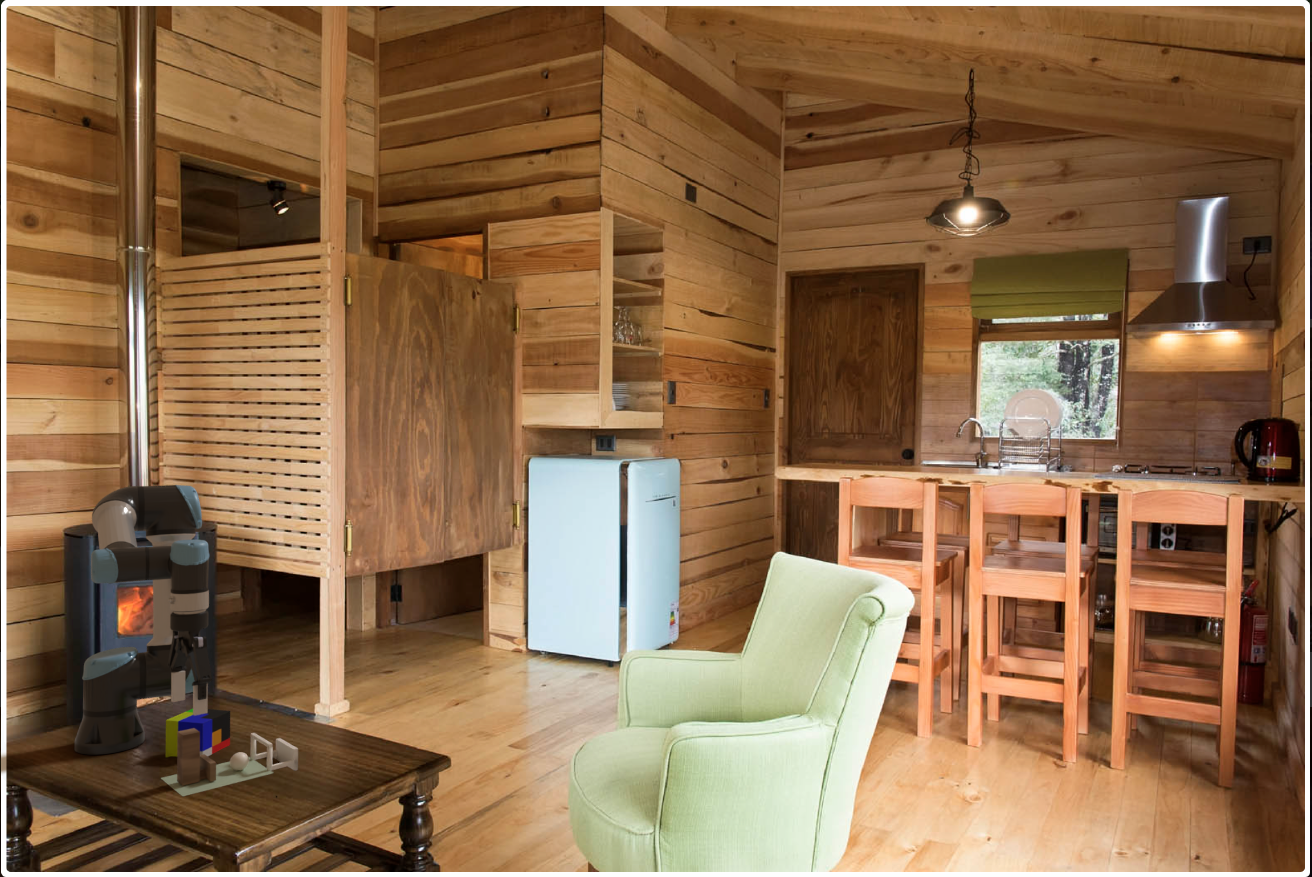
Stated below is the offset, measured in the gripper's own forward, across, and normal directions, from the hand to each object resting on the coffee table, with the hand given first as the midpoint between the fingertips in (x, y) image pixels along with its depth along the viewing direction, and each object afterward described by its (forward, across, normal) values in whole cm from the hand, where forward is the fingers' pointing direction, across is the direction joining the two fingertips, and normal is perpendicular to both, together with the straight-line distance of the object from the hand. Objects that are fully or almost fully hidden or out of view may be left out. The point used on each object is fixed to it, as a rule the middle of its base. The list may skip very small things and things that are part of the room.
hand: (189, 707), depth 205 cm
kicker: (+16, 0, +2) cm, 17 cm away
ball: (+15, 0, +11) cm, 18 cm away
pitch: (+18, 0, +10) cm, 21 cm away
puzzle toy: (+18, -20, +9) cm, 29 cm away
